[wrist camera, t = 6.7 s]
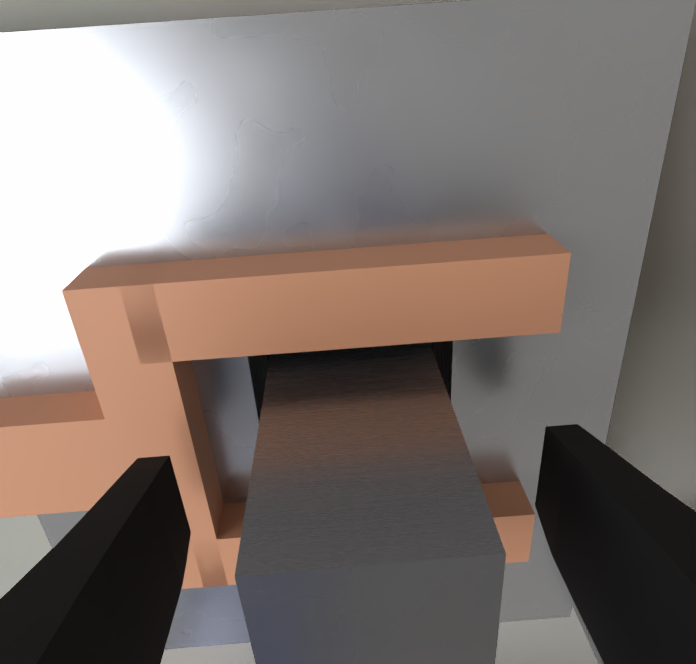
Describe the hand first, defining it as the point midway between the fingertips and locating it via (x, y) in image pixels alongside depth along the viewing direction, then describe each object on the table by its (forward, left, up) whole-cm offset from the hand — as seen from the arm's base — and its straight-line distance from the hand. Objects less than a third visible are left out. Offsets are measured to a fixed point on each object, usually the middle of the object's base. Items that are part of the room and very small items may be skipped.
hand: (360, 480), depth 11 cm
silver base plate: (0, +1, -5) cm, 5 cm away
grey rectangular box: (0, 0, -5) cm, 5 cm away
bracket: (0, +2, -2) cm, 3 cm away
